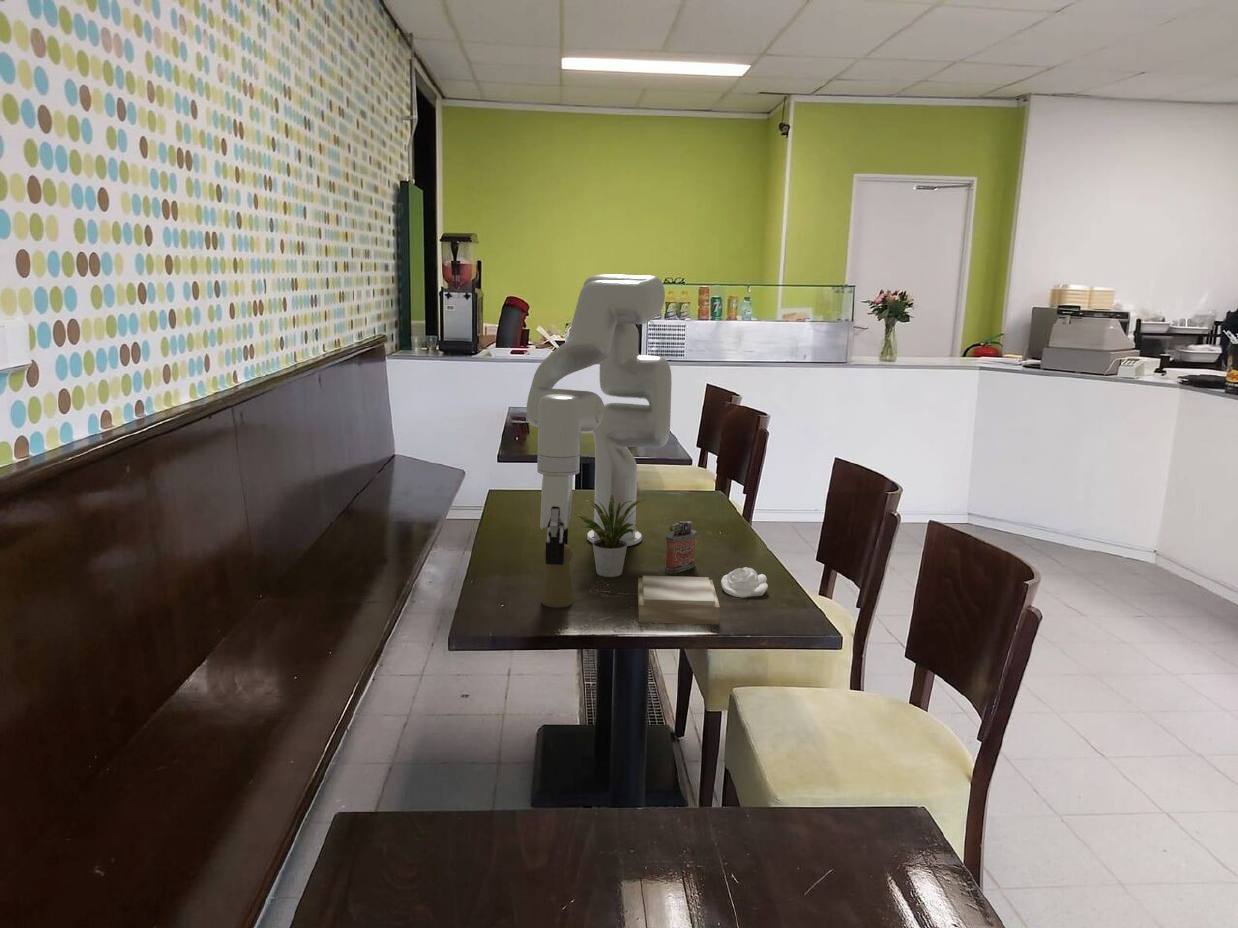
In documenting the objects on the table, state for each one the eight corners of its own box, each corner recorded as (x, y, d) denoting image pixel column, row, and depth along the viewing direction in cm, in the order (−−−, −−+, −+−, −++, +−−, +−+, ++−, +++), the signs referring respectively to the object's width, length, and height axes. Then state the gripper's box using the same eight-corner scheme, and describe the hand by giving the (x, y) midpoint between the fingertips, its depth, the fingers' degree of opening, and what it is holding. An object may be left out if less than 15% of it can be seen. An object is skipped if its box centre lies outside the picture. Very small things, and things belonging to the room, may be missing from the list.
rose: (780, 569, 168) (753, 581, 161) (779, 590, 169) (751, 603, 162) (737, 557, 174) (709, 568, 167) (736, 578, 175) (708, 590, 168)
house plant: (622, 556, 187) (624, 483, 183) (660, 574, 175) (663, 497, 172) (565, 566, 179) (566, 490, 175) (601, 587, 168) (603, 505, 164)
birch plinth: (638, 593, 164) (638, 574, 164) (711, 595, 164) (712, 575, 164) (638, 622, 151) (639, 600, 150) (718, 624, 151) (720, 602, 150)
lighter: (686, 562, 184) (688, 516, 182) (698, 565, 182) (700, 520, 180) (661, 570, 178) (662, 523, 176) (673, 574, 176) (675, 527, 174)
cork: (569, 608, 156) (569, 550, 154) (536, 605, 157) (537, 548, 155) (577, 597, 162) (578, 541, 160) (546, 594, 163) (546, 538, 161)
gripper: (542, 454, 163) (540, 542, 166) (532, 472, 146) (531, 569, 149) (581, 456, 162) (579, 543, 166) (576, 474, 145) (574, 571, 149)
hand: (556, 556), depth 157 cm, fingers open, 9 cm apart
